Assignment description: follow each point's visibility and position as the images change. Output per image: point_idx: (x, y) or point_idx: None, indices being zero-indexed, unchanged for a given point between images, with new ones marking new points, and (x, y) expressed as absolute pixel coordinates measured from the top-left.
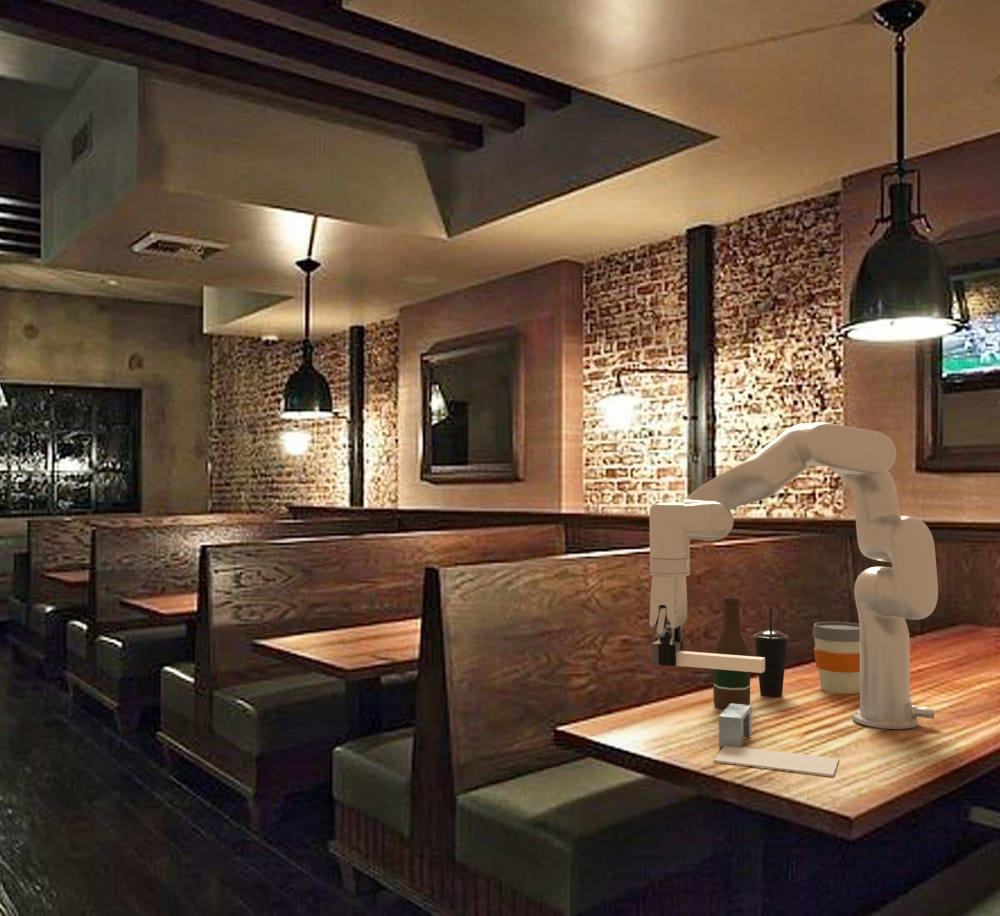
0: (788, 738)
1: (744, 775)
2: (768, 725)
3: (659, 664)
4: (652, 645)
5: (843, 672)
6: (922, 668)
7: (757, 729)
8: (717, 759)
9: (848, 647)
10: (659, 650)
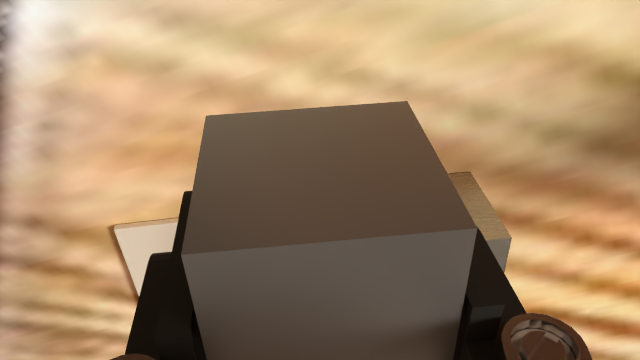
0: None
1: (60, 310)
2: (595, 229)
3: (186, 194)
4: (186, 242)
5: None
6: None
7: (539, 218)
8: (125, 236)
9: None
10: (167, 288)
